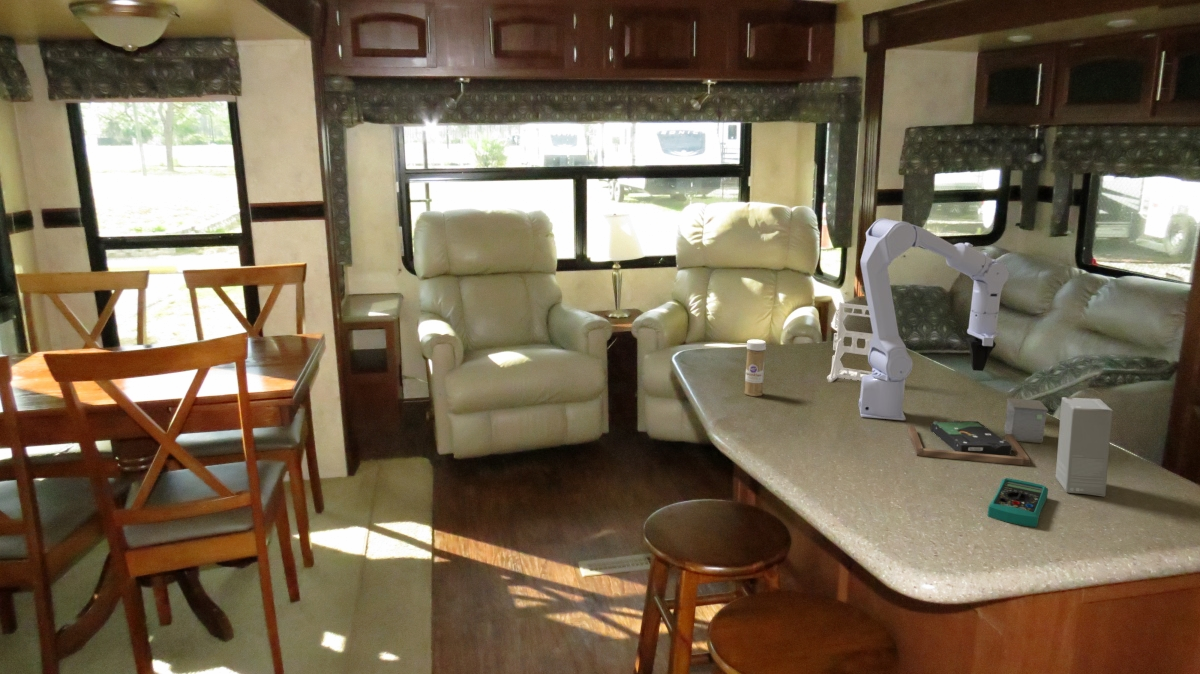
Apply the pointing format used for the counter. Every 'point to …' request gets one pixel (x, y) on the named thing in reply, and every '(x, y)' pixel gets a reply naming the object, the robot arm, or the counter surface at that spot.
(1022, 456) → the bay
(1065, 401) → the skincare box
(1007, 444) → the disk drive
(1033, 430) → the junction box
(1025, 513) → the digital multimeter
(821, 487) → the counter surface
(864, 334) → the white open rack frame
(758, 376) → the sprinkles bottle
